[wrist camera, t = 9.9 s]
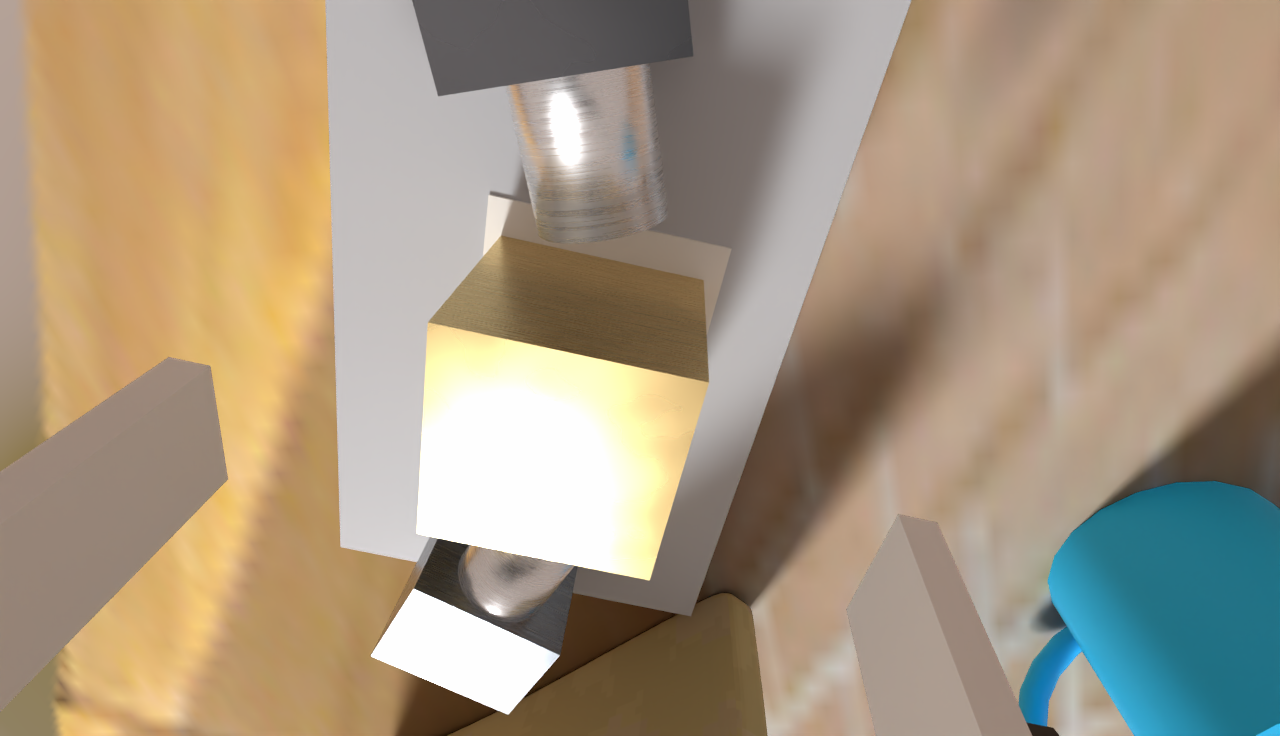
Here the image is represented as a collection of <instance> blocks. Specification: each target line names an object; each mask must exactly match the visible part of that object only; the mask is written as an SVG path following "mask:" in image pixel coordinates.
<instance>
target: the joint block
mask: <svg viewBox="0 0 1280 736" xmlns="http://www.w3.org/2000/svg"><path fill="white" fill-rule="evenodd" d="M708 385H709V369H708V351H707V332H706V314H705V296H704V280H701V279H696V278H692V277H687V276H683V275H678V274H674V273H669V272H664V271H660V270H655V269H651V268H646V267H642V266H637V265H633V264H628V263H624V262H619V261H615V260H610V259H606V258H601V257H596V256H592V255H587V254H583V253H578V252H574V251H569V250H565V249H560V248H556V247H551V246H547V245H542V244H537V243H533V242H528V241H524V240H519V239H515V238H510V237H506V236H500V237H499V238H498V240H497V241H496V242H495V243H494V244H493V245H492V247H491V248H490V249H489V250H488V251H487V253H486V254H485V255H484V256H483V257H482V259H481V260H480V261H479V262H478V263H477V264H476V266H475V267H474V268H473V269H472V270H471V272H470V273H469V274H468V275H467V276H466V278H465V279H464V280H463V281H462V282H461V283H460V285H459V286H458V287H457V288H456V289H455V291H454V292H453V293H452V294H451V295H450V297H449V298H448V299H447V300H446V301H445V302H444V304H443V305H442V306H441V307H440V308H439V310H438V311H437V312H436V313H435V314H434V316H433V317H432V318H431V319H430V320H429V321H428V326H427V346H426V365H425V385H424V405H423V424H422V444H421V463H420V483H419V502H418V522H417V534H421V535H426V536H431V537H436V538H441V539H446V540H451V541H456V542H461V543H466V544H471V545H476V546H481V547H486V548H491V549H496V550H501V551H506V552H511V553H516V554H521V555H526V556H531V557H536V558H541V559H546V560H551V561H556V562H561V563H566V564H571V565H576V566H581V567H586V568H591V569H596V570H600V571H605V572H610V573H615V574H620V575H625V576H630V577H635V578H640V579H645V580H650V578H651V574H652V571H653V568H654V564H655V561H656V558H657V554H658V551H659V548H660V544H661V541H662V538H663V534H664V531H665V528H666V524H667V521H668V518H669V514H670V511H671V508H672V505H673V501H674V498H675V495H676V491H677V488H678V485H679V481H680V478H681V475H682V471H683V468H684V465H685V461H686V458H687V455H688V451H689V448H690V445H691V441H692V438H693V435H694V432H695V428H696V425H697V422H698V418H699V415H700V412H701V408H702V405H703V402H704V398H705V395H706V392H707V388H708Z"/></svg>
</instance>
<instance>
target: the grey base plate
mask: <svg viewBox="0 0 1280 736" xmlns="http://www.w3.org/2000/svg"><path fill="white" fill-rule="evenodd" d="M910 3H911V0H688V5H689V15H690V26H691V36H692V46H693V56H692V57H686V58H680V59H673V60H667V61H661V62H654V63H649V65H650V73H651V80H652V88H653V96H654V104H655V112H656V120H657V128H658V136H659V144H660V152H661V160H662V167H663V175H664V183H665V191H666V199H667V207H668V216H667V217H666V219H664V220H663V221H662V222H661V223H659V224H657V225H655V226H653V227H651V228H649V229H647V230H644V231H641V232H638V233H635V234H632V235H628V236H625V237H620V238H616V239H611V240H605V241H599V242H590V243H577V244H565V243H554V242H549V241H546V240H543V239H542V238H540V237H539V235H538V230H537V226H536V221H535V217H534V212H533V208H532V204H531V199H530V195H529V190H528V186H527V181H526V177H525V172H524V168H523V163H522V159H521V155H520V150H519V146H518V141H517V137H516V132H515V128H514V123H513V119H512V115H511V110H510V106H509V101H508V97H507V92H506V88H505V86H501V87H495V88H489V89H482V90H476V91H470V92H463V93H457V94H450V95H444V96H438V94H437V90H436V87H435V83H434V79H433V76H432V72H431V68H430V65H429V61H428V57H427V54H426V50H425V46H424V43H423V39H422V35H421V31H420V28H419V24H418V20H417V17H416V13H415V9H414V6H413V2H412V0H326V35H327V71H328V108H329V144H330V180H331V216H332V253H333V289H334V325H335V362H336V398H337V434H338V470H339V507H340V543H341V547H343V548H348V549H353V550H358V551H363V552H368V553H373V554H378V555H383V556H389V557H394V558H399V559H404V560H409V561H414V562H417V561H418V559H419V557H420V555H421V553H422V551H423V549H424V547H425V545H426V543H427V541H428V539H429V537H430V536H426V535H421V534H417V522H418V502H419V483H420V463H421V444H422V424H423V405H424V385H425V365H426V346H427V326H428V321H429V320H430V319H431V318H432V317H433V316H434V314H435V313H436V312H437V311H438V310H439V308H440V307H441V306H442V305H443V304H444V302H445V301H446V300H447V299H448V298H449V297H450V295H451V294H452V293H453V292H454V291H455V289H456V288H457V287H458V286H459V285H460V283H461V282H462V281H463V280H464V279H465V278H466V276H467V275H468V274H469V273H470V272H471V270H472V269H473V268H474V267H475V266H476V264H477V263H478V262H479V261H480V260H481V259H482V257H483V256H484V255H485V254H486V253H487V251H488V250H489V249H490V248H491V247H492V245H493V244H494V243H495V242H496V241H497V240H498V238H499V237H500V236H506V237H510V238H515V239H519V240H524V241H528V242H533V243H537V244H542V245H547V246H551V247H556V248H560V249H565V250H569V251H574V252H578V253H583V254H587V255H592V256H596V257H601V258H606V259H610V260H615V261H619V262H624V263H628V264H633V265H637V266H642V267H646V268H651V269H655V270H660V271H664V272H669V273H674V274H678V275H683V276H687V277H692V278H696V279H701V280H704V296H705V314H706V332H707V351H708V369H709V385H708V388H707V392H706V395H705V398H704V402H703V405H702V408H701V412H700V415H699V418H698V422H697V425H696V428H695V432H694V435H693V438H692V441H691V445H690V448H689V451H688V455H687V458H686V461H685V465H684V468H683V471H682V475H681V478H680V481H679V485H678V488H677V491H676V495H675V498H674V501H673V505H672V508H671V511H670V514H669V518H668V521H667V524H666V528H665V531H664V534H663V538H662V541H661V544H660V548H659V551H658V554H657V558H656V561H655V564H654V568H653V571H652V574H651V578H650V580H645V579H640V578H635V577H630V576H625V575H620V574H615V573H610V572H605V571H600V570H596V569H591V568H586V567H581V566H578V568H577V573H576V578H575V583H574V588H573V593H575V594H580V595H585V596H590V597H595V598H600V599H606V600H611V601H616V602H621V603H626V604H631V605H636V606H641V607H646V608H651V609H656V610H661V611H666V612H671V613H676V614H681V615H686V616H691V615H692V612H693V609H694V606H695V604H696V601H697V598H698V595H699V592H700V590H701V587H702V584H703V581H704V578H705V576H706V573H707V570H708V567H709V564H710V562H711V559H712V556H713V553H714V550H715V548H716V545H717V542H718V539H719V537H720V534H721V531H722V528H723V525H724V523H725V520H726V517H727V514H728V511H729V509H730V506H731V503H732V500H733V497H734V495H735V492H736V489H737V486H738V483H739V481H740V478H741V475H742V472H743V469H744V467H745V464H746V461H747V458H748V455H749V453H750V450H751V447H752V444H753V441H754V439H755V436H756V433H757V430H758V428H759V425H760V422H761V419H762V416H763V414H764V411H765V408H766V405H767V402H768V400H769V397H770V394H771V391H772V388H773V386H774V383H775V380H776V377H777V374H778V372H779V369H780V366H781V363H782V360H783V358H784V355H785V352H786V349H787V346H788V344H789V341H790V338H791V335H792V333H793V330H794V327H795V324H796V321H797V319H798V316H799V313H800V310H801V307H802V305H803V302H804V299H805V296H806V293H807V291H808V288H809V285H810V282H811V279H812V277H813V274H814V271H815V268H816V265H817V263H818V260H819V257H820V254H821V251H822V249H823V246H824V243H825V240H826V237H827V235H828V232H829V229H830V226H831V224H832V221H833V218H834V215H835V212H836V210H837V207H838V204H839V201H840V198H841V196H842V193H843V190H844V187H845V184H846V182H847V179H848V176H849V173H850V170H851V168H852V165H853V162H854V159H855V156H856V154H857V151H858V148H859V145H860V142H861V140H862V137H863V134H864V131H865V129H866V126H867V123H868V120H869V117H870V115H871V112H872V109H873V106H874V103H875V101H876V98H877V95H878V92H879V89H880V87H881V84H882V81H883V78H884V75H885V73H886V70H887V67H888V64H889V61H890V59H891V56H892V53H893V50H894V47H895V45H896V42H897V39H898V36H899V34H900V31H901V28H902V25H903V22H904V20H905V17H906V14H907V11H908V8H909V6H910Z"/></svg>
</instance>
